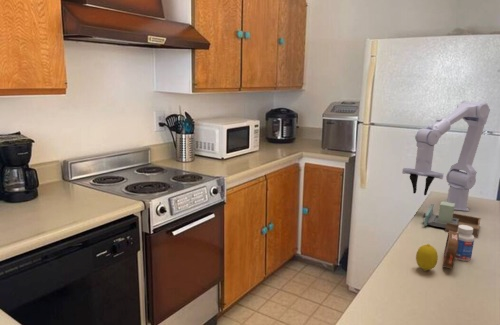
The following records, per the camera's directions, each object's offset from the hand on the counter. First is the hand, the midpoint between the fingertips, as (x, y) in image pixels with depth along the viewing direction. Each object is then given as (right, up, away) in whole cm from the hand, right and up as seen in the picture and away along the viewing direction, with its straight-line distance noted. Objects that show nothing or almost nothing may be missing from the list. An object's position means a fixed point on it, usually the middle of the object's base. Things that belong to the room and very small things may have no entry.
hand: (419, 193), depth 155 cm
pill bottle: (-3, -17, -35) cm, 39 cm away
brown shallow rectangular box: (+10, -12, -12) cm, 20 cm away
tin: (-8, -17, -38) cm, 43 cm away
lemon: (-17, -18, -43) cm, 50 cm away
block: (+5, -10, -11) cm, 15 cm away
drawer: (+4, -10, -8) cm, 14 cm away
